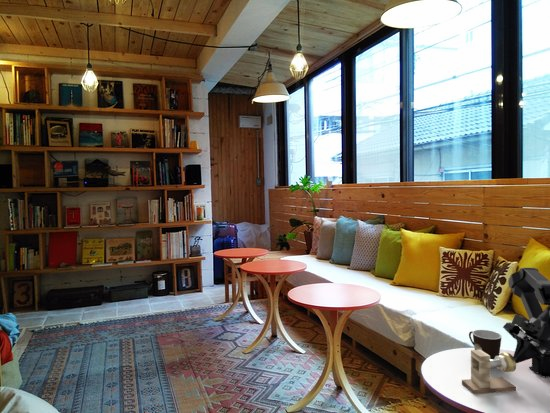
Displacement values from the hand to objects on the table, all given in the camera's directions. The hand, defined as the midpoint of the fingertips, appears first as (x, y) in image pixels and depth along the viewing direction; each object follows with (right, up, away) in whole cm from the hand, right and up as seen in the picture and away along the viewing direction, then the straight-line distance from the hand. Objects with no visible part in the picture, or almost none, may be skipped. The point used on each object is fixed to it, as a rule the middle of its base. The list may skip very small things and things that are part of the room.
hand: (513, 362), depth 114 cm
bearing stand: (-8, -7, -1) cm, 11 cm away
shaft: (-6, -3, 0) cm, 6 cm away
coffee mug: (+1, -7, +16) cm, 18 cm away
